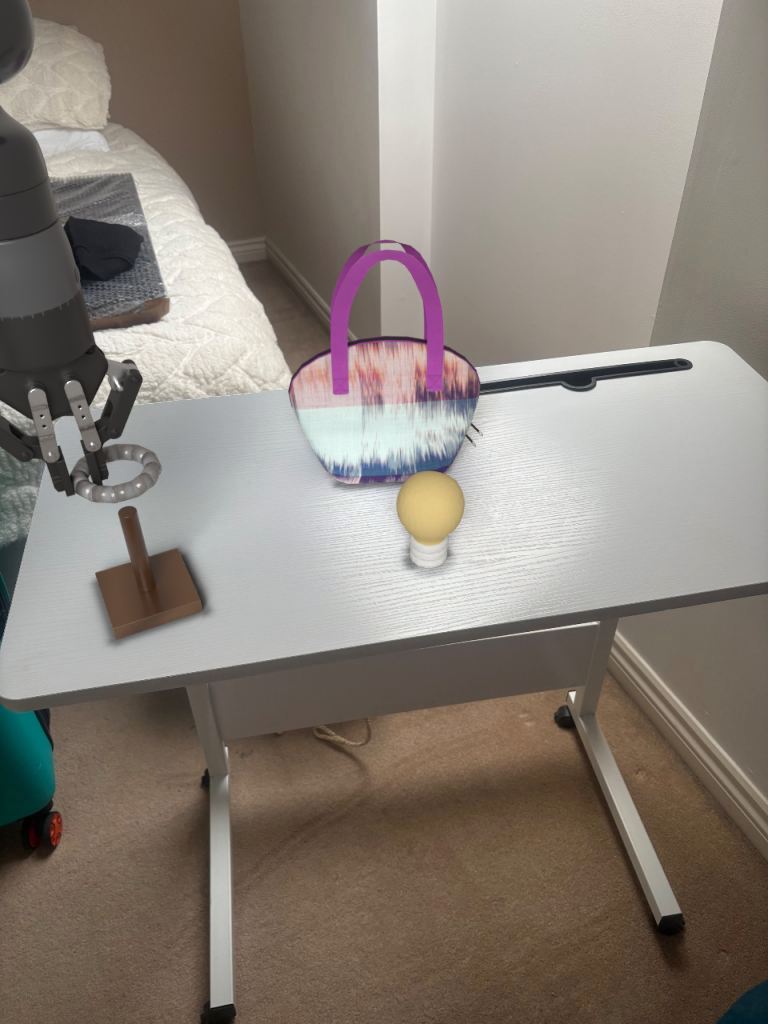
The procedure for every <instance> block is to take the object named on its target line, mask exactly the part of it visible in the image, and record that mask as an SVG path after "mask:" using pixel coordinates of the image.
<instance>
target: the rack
mask: <svg viewBox="0 0 768 1024" xmlns="http://www.w3.org/2000/svg"><path fill="white" fill-rule="evenodd" d="M117 516H118V519H119V523H120V528H121V530H122V534H123V538H124V541H125V545H126V549H127V553H128V556H129V560H130V561H129V562H126V563H123V564H119V565H116V566H112V567H110V568H106V569H103V570H100V571H96V572H95V573H94V575H95V578H96V583H97V585H98V588H99V591H100V594H101V597H102V600H103V603H104V607H105V610H106V613H107V616H108V619H109V623H110V625H111V629H112V632H113V635H114V637H115V640H120V639H124V638H126V637H130V636H132V635H135V634H138V633H141V632H144V631H148V630H151V629H153V628H157V627H159V626H162V625H166V624H168V623H171V622H174V621H178V620H181V619H185V618H187V617H189V616H193V615H195V614H198V613H201V612H203V611H204V609H203V608H204V607H203V603H202V600H201V597H200V595H199V593H198V590H197V588H196V586H195V584H194V581H193V580H192V577H191V575H190V573H189V570H188V568H187V566H186V564H185V561H184V559H183V557H182V554H181V552H180V550H179V548H178V547H176V548H172V549H169V550H166V551H163V552H159V553H156V554H153V555H149V552H148V548H147V545H146V541H145V536H144V533H143V529H142V524H141V521H140V517H139V513H138V509H137V508H136V507H135V506H133V505H125V506H122V507H120V508H119V510H118V511H117Z"/></svg>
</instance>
